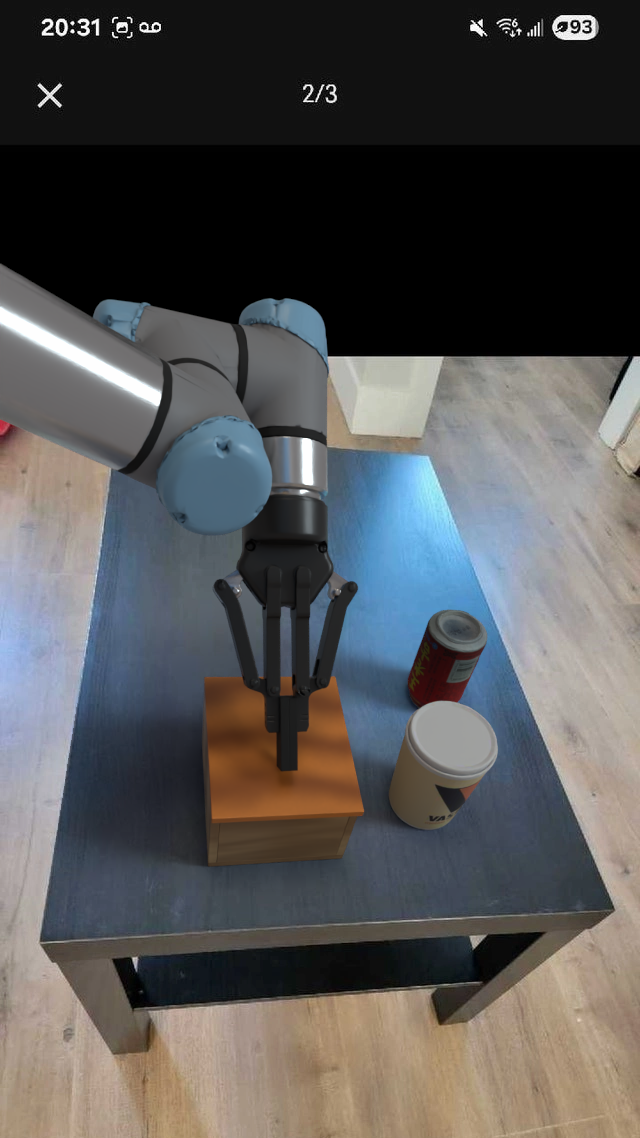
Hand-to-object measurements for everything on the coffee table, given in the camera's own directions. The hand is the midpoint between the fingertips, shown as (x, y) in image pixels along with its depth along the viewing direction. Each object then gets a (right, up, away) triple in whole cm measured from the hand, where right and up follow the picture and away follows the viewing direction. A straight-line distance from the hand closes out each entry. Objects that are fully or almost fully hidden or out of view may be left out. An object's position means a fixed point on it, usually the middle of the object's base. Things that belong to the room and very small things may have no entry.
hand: (287, 768), depth 62 cm
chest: (-3, -4, +12) cm, 13 cm away
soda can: (+17, +7, +25) cm, 31 cm away
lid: (-1, +2, +4) cm, 5 cm away
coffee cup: (+14, -5, +15) cm, 21 cm away
